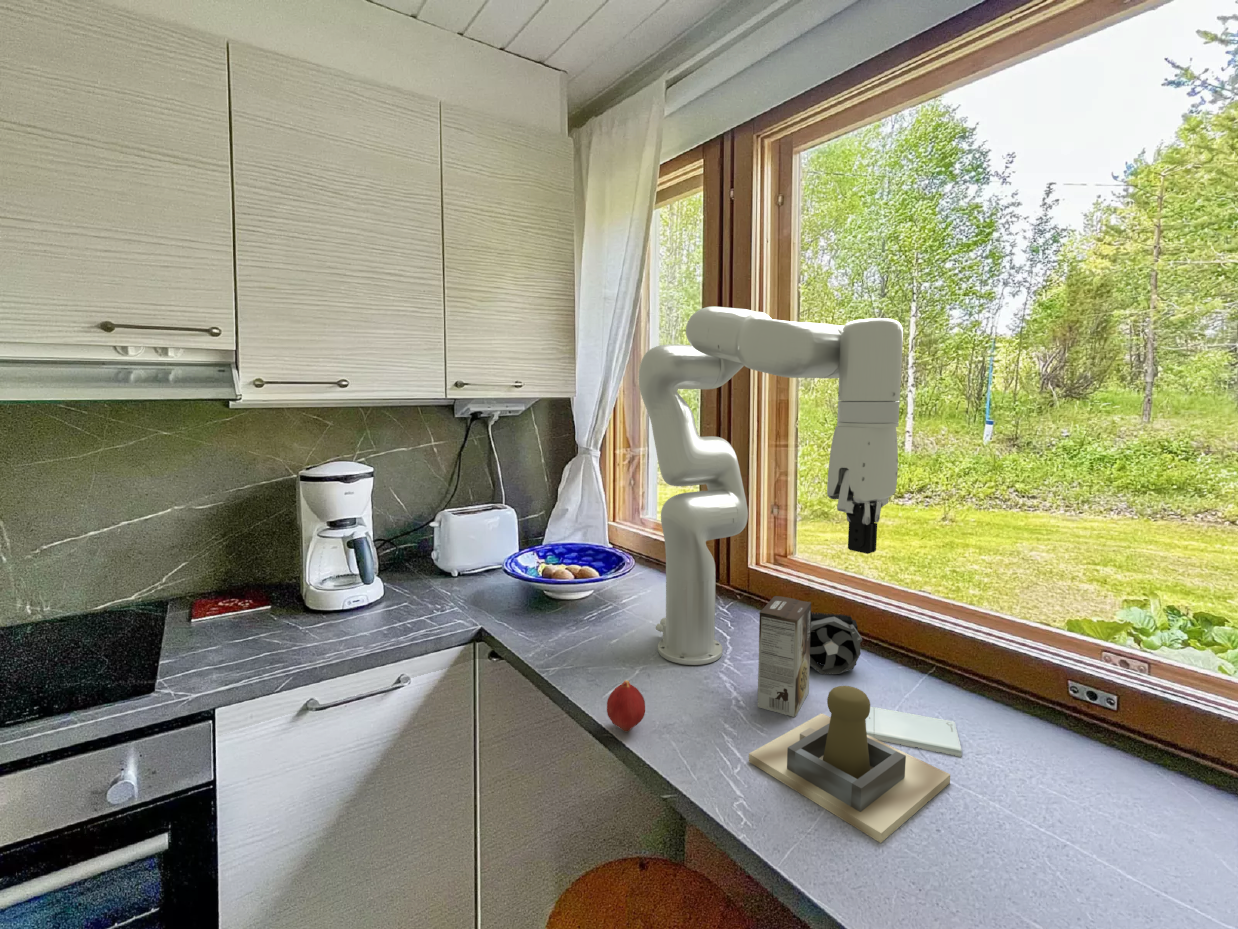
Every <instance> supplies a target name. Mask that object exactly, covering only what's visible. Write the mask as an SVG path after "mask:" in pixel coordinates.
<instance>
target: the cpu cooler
mask: <svg viewBox="0 0 1238 929" xmlns="http://www.w3.org/2000/svg"><path fill="white" fill-rule="evenodd" d="M858 629H859V627H858V624H857V621H856V619H853V618H852V616H851V615H849V614H847V615H846V614H842V613H840V614H839V613H832V612H831V613H829V612H828V613H827V612H825V613H824V612H819V611H818V612H816V611H815V612H814V611H811V630H810V666H809V667H811V668H813V669H814V670H815V671H816V672H818V673H819V674H820V675H840V674H844V673H845V672H847V671H850V670H853V669H854V668H855V666H856V665H857V661H858V660H859V658H860V655H861V643H862V642H863V638H862V635H861V634H860V632H858Z"/></svg>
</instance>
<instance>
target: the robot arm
mask: <svg viewBox="0 0 1238 929" xmlns="http://www.w3.org/2000/svg"><path fill="white" fill-rule="evenodd" d="M685 335H686V339H687V341H688V343H689V344H676V343H673V344H671V343H669V344H661V345H657V346H654V347H652V348H650V349H649V350H647V351H646V352H645V353H644V355H643V357H642V359H641V362H640V364H639V370H638V385H639V392H640V395H641V398H642V402H643V404H644V406H645V408H646V410H647V413H648V417H649V419H650V424H651V429H652V430H651V431H652V436H653V439H654V440H653V441H654V447H655V450H656V457H657V462H658V467H659V472H660V475H661V478H662V479H663V481H664V482H665V483H666V484H667V485H668V486H673V487H691V486H700V485H701V486H702V485H703V486H704V485H706V488H707V490H698V491H690V492H683V493H682V492H681V493H678V494H676V495H673V496H671V497H669V498H668V499H667V500H666V501H665V502H664V503H663V505H662V508H661V510H660V511H661V512H660V521H661V522H660V523H661V527H662V528H661V530H662V533H663V539H664V548H665V617H662V618H661V619H660V621H659V623H657V624H656V625H655V629H656V631H658V632H660V633H662V639H661V640H660V641H659V642H658V643H657V652H658V654H659V655H660V656H661V658H664V659H665V660H667V661H669V662H672V663H675V664H679V665H687V666H688V665H689V666H701V665H706V664H710V663H715V661H718V660H719V659H720V658H721V657H722V656H723V651H724V650H723V645H722V644H721V643H720V642H719V641H718V640H716V637H715V632H716V630H715V626H716V625H715V624H716V623H715V622H716V562H715V559H714V556H713V555H712V553H711V551H710V550H709V548H708V545H707V541H712V540H717V539H723V538H729V537H734V536H736V535H739V534H741V532H742V531H744V529H745V528H746V526H747V523H748V519H749V518H748V516H749V511H748V503H747V497H746V494H745V489H744V488H745V487H744V484H743V478H742V474H741V469H740V465H739V464H740V463H739V461H738V457H737V454H736V452H735V449H734V448H733V446H732V445H731V443H730V442H729V441H727V440H726V439H725V438H722V437H721V436H720V437H719V436H715V435H714V436H712V435H711V436H710V435H709V436H700V435H699V433H698V431H697V430H698V429H697V426H696V421H695V420H696V419H695V416H694V412H693V411H692V409H691V407H690V405H689V404H688V403H687V402H686V400H685V399H684V398H683V397H682V396H681V395H680V394H679V393H678V390H714V389H717V388H720V387H721V386H724V385H725V384H727V383H728V382H729V380H731V379H732V378H733V377H734V376H735V375H736V374H737V373H738V372H739V371H741V370H742V368H743V367H745V368H746V369H747V368H748V369H749V370H753V371H756V372H761V373H766V374H768V375H773V376H777V377H781V378H788V379H789V378H790V379H791V378H792V379H838V388H837V390H838V392H837V400H838V401H837V416H836V417H837V420H836V421H837V423H836V426H835V428H834V430H833V431H834V432H833V435H832V439H831V445H830V446H831V447H830V453H829V460H828V469H827V470H828V471H827V481H826V482H827V484H826V485H827V488H826V491H827V492H826V493H827V497H828V498H829V499H831V500H837V506H836V509H837V511H838V512H841V513H845V514H846V521H847V522H848V536H847V549H848V550H849V551H852V552H856V553H862V554H866V555H868V554H871V553H875V552H876V551H877V538H878V523H879V521H880V520H881V512H882V508H883V507H884V506H886V505H887V504H888V503H889V500H890V497H892V496H893V495H894V494H895V493H896V491H897V485H898V470H899V466H898V465H899V455H898V453H899V452H898V450H899V449H898V434H897V428H898V427H899V423H900V422H899V421H900V420H899V419H900V401H901V384H902V382H901V381H902V361H903V342H904V341H903V339H904V330H903V326H902V324H901V323H900V322H899V321H898V320H895V319H893V318H881V317H880V318H878V317H877V318H876V317H875V318H864V319H863V318H862V319H855V320H851V321H849V322H847V323H846V324H845V325H842V324H841V325H838V324H829V323H818V322H803V321H801V322H800V321H791V320H790V321H789V320H781V319H772V317H770V315H768V314H767V313H766V312H763V311H755V310H751V309H746V308H738V307H727V306H707V307H704V308H703V307H702V308H700V309H699V310H697V311H695V312H694V313H693V314H692V315H691V316H690V317H689V319H688V321H687V323H686V327H685Z"/></svg>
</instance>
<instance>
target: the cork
mask: <svg viewBox="0 0 1238 929" xmlns="http://www.w3.org/2000/svg"><path fill="white" fill-rule="evenodd" d="M826 700H827V701H826V702H827V703H826V704H827V708H828V710H829V712H830V717H831V718H830V724H829V729H828V734H827V740H826V745H825V751H824V756H823V761H825V762H827V763H829V764H830V765H832V766H834V767H836V768H838V769H840V770H841V771H843V772H845V773H847V774H849V775H851V776H852V777H854V778H856V779H859V778H860V777H861V776H863V775H864V774H866V773H867V772H868V771H870V762H869V752H868V742H867V732H866V718H867V717H868V716H869V713H870V707H871V702H870V699H869V697H868V695H867V693H865V692H864V691H862V689H859V688H857V687H854V686H851V685H850V686H849V685H839V686H835V687H833V688H832V689H831V690H830V691H829V692H828V696H827V699H826Z"/></svg>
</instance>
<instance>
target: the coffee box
mask: <svg viewBox="0 0 1238 929" xmlns="http://www.w3.org/2000/svg"><path fill="white" fill-rule="evenodd" d="M811 612H812V602H811V601H804V600H800V599H798V598H791V597H786V596H779V595H775V596H774V595H773V597H772V598H771V599H770V600H769V601H768V603H766V605H765V606H764V607H763V608H762V609H761V610H760V612H759V623H758V624H759V625H758V630H759V632H758V633H759V634H758V673H757V708H760V709H762V710H767V711H770V712H775V713H778V714H781V715H786V716H789V717H792V718H796V716H797V715H798V714H799V712H800V709H801V708H802V707H803V704H804V702H805V700H806V698H807V696H808V695H809V693H810V667H811V666H810V630H811Z"/></svg>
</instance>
